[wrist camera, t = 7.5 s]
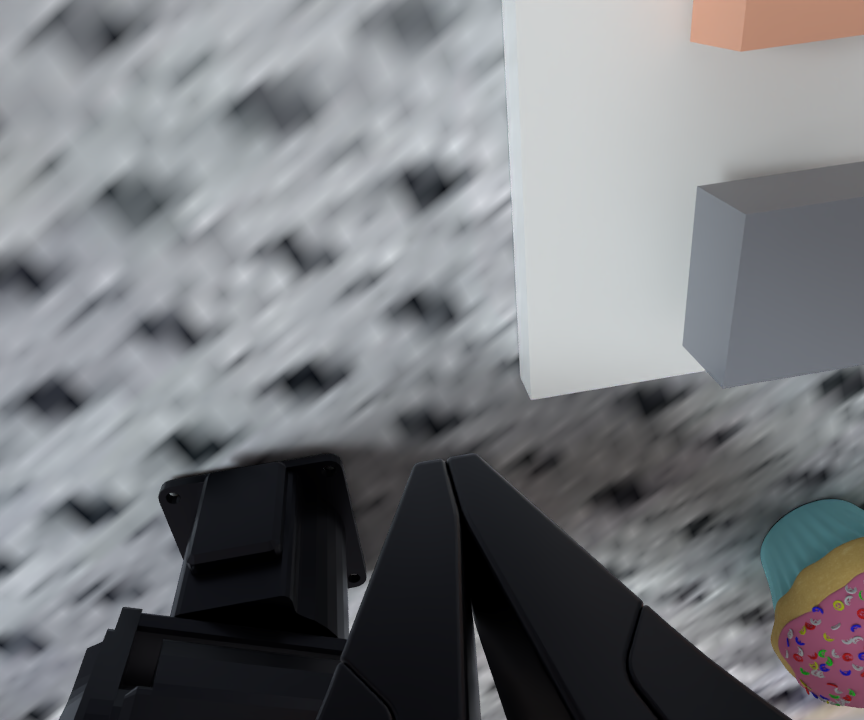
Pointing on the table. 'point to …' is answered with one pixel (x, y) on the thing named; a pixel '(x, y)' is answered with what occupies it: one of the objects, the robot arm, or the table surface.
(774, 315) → the charcoal button
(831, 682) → the cupcake
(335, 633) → the robot arm
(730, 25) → the terracotta button
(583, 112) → the button board
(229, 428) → the table surface
